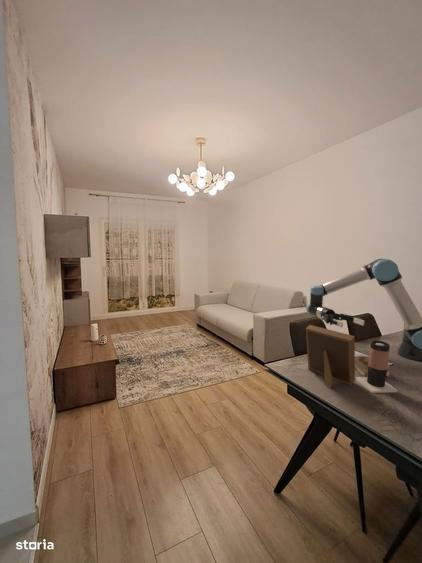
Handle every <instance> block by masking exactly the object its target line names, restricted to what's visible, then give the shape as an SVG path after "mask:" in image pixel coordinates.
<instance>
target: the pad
mask: <svg viewBox="0 0 422 563" xmlns="http://www.w3.org/2000/svg"><path fill="white" fill-rule="evenodd" d="M355 381H357V382H358V383H360V385H362V386H364V387H365V388H366V389H367V390H368V391H369V392H371V393H372V394H377V393H379V394H381V393H382V394H383V393H398V389H396V388H395V386H392V385H391V384H390V383H389V382H387V381H385V386H384V387H375V386H372V385H370V384H369V383H368V382H367V376H355Z"/></svg>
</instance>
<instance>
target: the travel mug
mask: <svg viewBox="0 0 422 563" xmlns="http://www.w3.org/2000/svg"><path fill="white" fill-rule="evenodd" d="M390 346H391V345H390V344H389V343H387V342H385V341H381V340H373V341H370V346H369V355H368V356H369V362H368V365H367V366H368V375H367V376H366V377H367V382H368V383H369V384H370V385H372V386H375V387H384V386H385V382H387V380H386V379H387V376H386V374H387V368H388V366H389V357H390V356H389V355H390Z"/></svg>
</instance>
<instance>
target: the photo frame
mask: <svg viewBox="0 0 422 563" xmlns="http://www.w3.org/2000/svg"><path fill="white" fill-rule="evenodd" d="M305 337H306V353H307V355H306V356H307V367H308V370H310V371H313V372H315V373H319V374H321V375H323V376H324V385H326V387H328V388H329V389H332V386H333V381H334V380H336V381H338V382H341V383H343V384H346V385H348V386H352V385H353V384H354V382H355V381H356V369H355V356H356V349H355V348H356V342H355V341H356V340H355V335H351V334H347V333H344V332H340V331H336V330H332V329H328V328H325V327H319V326H316V325H312V324H309V325H308V326H307V327H306V328H305Z"/></svg>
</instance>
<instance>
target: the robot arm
mask: <svg viewBox="0 0 422 563" xmlns="http://www.w3.org/2000/svg"><path fill="white" fill-rule="evenodd" d="M374 279H375V280H376V282H377V283H378V285H379V286H380V287H382V288H384V290H385V291H386V293H387V295H388V297H389V298H390V300H391V301H392V304H393V306H394V307H395V308H396V310H397V312H398V314H399V315H400V317H401V319H402V322H403V324H404V325H403V332H402V341H401V343H400V345H399V347H398V348H397V354H398V355H399V356H400V357H403V358H405V359H409V360H412V361H418V362H419V361H420V362H422V315H421V313H420V311H419V310H418V308H417V307H416V305H415V303H414V301H413V299H412V298H411V295H410V294H409V293H408V291H407V289H406V288H405V285H404V284H403V282H402V279H403V276H402V273H400V270H399V266H398V264H397V263H396V262H395V261H393V260H392V259H388V258H387V259H386V258H378V259H375V260H374V261H372V262H370V263H368V264H364V265H363V266H362V268H360V269H357V270H355V271H352V272H350V273H347V274H345V275H342V276H340V277H337V278H334V279H331V280H330V281H328V282H324V283H323V284H321V285H312V286H311V287H310V291H309V292H310V296H309V297H310V301H309V303H308V304H307V306H306V309H305V310H306V312H307V314H309V315H310V316H314V317H316V318H318V319H321V320H323V321H324V322H325V323H326V324H329V325H330V326H332V325H334V326H337V327H339V328H343V327H344V322H343V321H346V322H353V323H354V324H357V325H359V326H365V320H363V319H361V318H359V317H358V316H356V315H349V314H343V313H336V312H335V311H334V309H332V308H328V307H326V306H323V301H324V297H325V296H327V295H329V294H332V293H334V292H337V291H340V290H342V289H343V290H344V289H346V288H347V287H348V288H349V287H351V286H353V285H356V284H359V283H361V282H364V281H367V280H368V281H372V280H374Z"/></svg>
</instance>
